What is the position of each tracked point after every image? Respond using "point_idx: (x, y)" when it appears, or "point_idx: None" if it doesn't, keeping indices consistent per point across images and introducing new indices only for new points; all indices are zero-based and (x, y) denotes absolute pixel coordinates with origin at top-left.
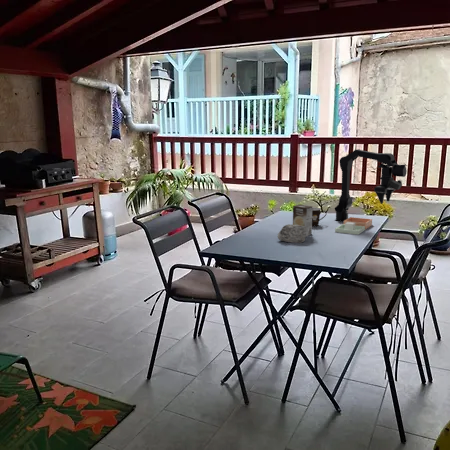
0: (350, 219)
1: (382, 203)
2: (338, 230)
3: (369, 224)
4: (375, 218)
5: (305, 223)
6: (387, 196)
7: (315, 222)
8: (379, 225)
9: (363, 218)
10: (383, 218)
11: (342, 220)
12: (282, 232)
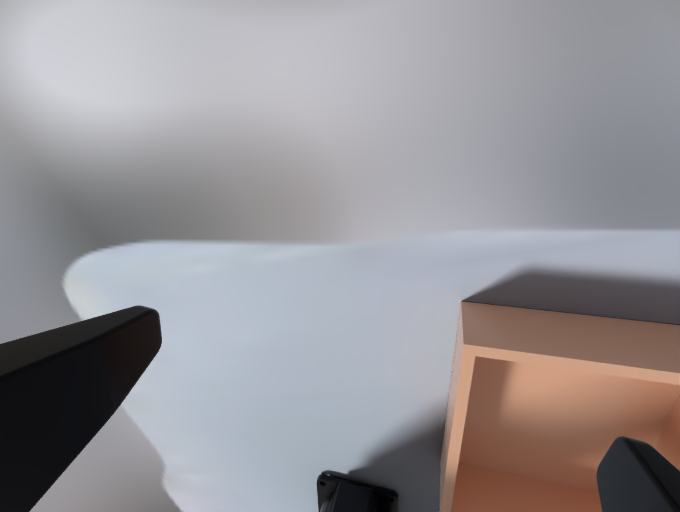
0: (467, 499)
1: (649, 444)
2: None
3: (572, 332)
4: None
5: None
6: (33, 451)
7: None
8: (408, 238)
9: (458, 422)
10: (117, 256)
11: (386, 510)
12: None
